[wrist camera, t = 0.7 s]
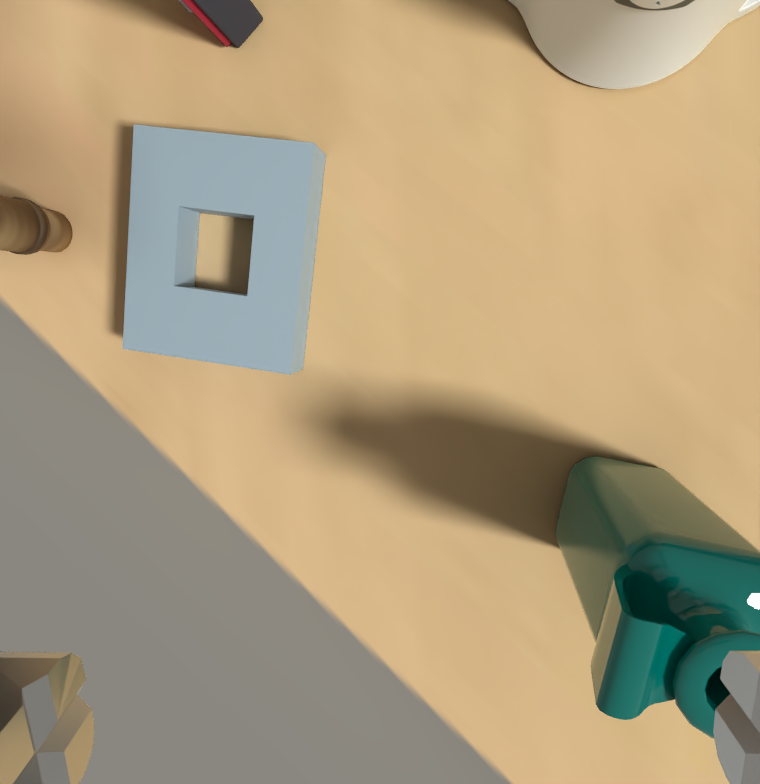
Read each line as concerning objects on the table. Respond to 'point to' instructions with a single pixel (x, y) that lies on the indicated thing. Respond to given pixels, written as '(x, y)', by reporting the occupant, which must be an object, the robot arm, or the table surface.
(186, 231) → the seat board
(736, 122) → the table surface
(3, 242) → the peg
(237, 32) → the calculator
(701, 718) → the teal bottle
